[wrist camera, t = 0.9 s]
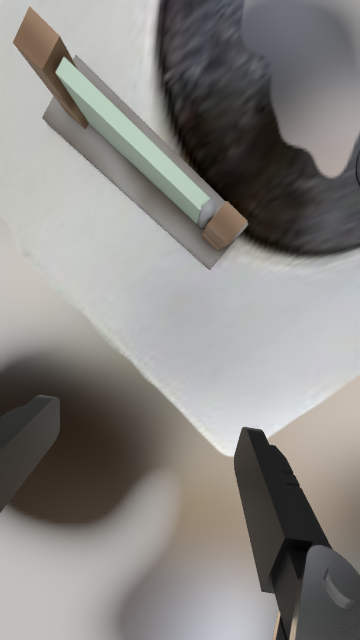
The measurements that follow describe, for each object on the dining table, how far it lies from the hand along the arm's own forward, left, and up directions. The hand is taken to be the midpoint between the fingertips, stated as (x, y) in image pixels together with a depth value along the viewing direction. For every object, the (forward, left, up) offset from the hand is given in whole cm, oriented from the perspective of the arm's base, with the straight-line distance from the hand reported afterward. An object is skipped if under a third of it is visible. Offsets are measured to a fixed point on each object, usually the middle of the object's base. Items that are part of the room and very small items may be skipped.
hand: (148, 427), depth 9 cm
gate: (-12, -14, -23) cm, 30 cm away
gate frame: (-12, -15, -25) cm, 31 cm away
